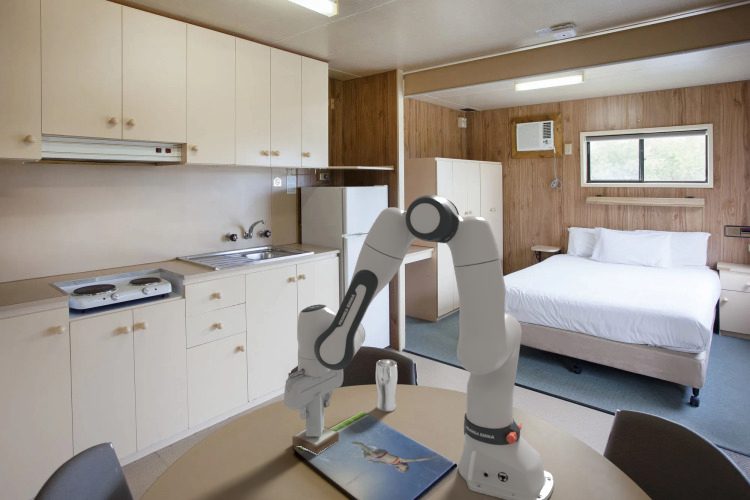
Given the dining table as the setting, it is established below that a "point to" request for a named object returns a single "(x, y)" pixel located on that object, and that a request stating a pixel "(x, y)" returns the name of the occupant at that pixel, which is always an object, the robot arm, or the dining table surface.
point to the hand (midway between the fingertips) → (315, 412)
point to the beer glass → (386, 384)
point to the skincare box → (315, 416)
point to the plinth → (316, 440)
